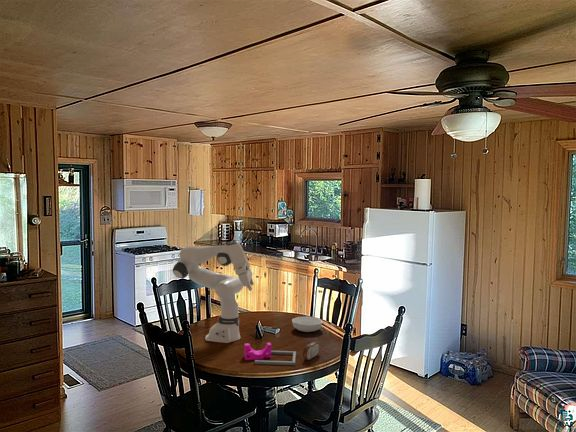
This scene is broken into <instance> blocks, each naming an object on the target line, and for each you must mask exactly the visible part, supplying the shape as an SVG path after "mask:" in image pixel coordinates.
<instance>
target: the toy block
mask: <svg viewBox="0 0 576 432" xmlns="http://www.w3.org/2000/svg"><path fill="white" fill-rule="evenodd" d="M259 350H260V351H258V350H255V349H254V348H252V347H251V345H250V342H249V343H248V342H247V343H245V342H244V360H245V361H247V360H248V361H249V360H250V361H252V360H253V361H255V360H264V358H272V354H271V351H272V343H271V342H266V345H265V347H264V348H263V349H259ZM267 352H269V353H267Z"/></svg>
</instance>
